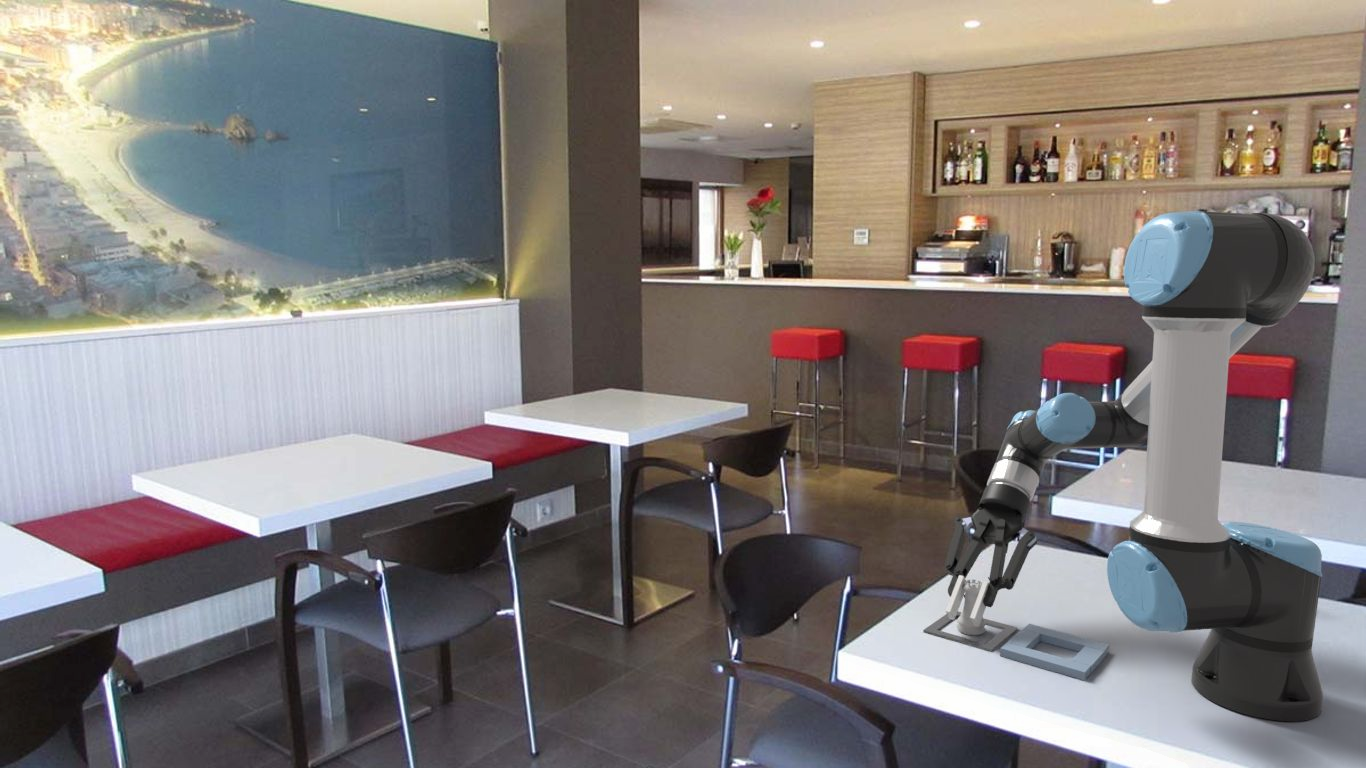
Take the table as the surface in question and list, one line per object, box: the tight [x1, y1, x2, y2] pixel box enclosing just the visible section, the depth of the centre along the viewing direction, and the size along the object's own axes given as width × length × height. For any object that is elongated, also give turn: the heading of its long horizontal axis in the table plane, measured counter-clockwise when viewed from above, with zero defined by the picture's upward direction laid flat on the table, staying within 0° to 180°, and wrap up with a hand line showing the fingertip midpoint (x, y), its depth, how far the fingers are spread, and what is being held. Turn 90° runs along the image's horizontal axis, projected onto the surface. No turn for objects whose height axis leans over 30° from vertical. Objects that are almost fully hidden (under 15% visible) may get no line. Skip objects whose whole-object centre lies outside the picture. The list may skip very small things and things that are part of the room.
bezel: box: [922, 611, 1019, 652], centre depth 146 cm, size 11×11×1 cm
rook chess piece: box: [956, 579, 986, 637], centre depth 145 cm, size 4×4×8 cm
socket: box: [999, 623, 1110, 681], centre depth 138 cm, size 12×12×1 cm
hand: (962, 618), depth 142 cm, fingers closed on rook chess piece, 3 cm apart
